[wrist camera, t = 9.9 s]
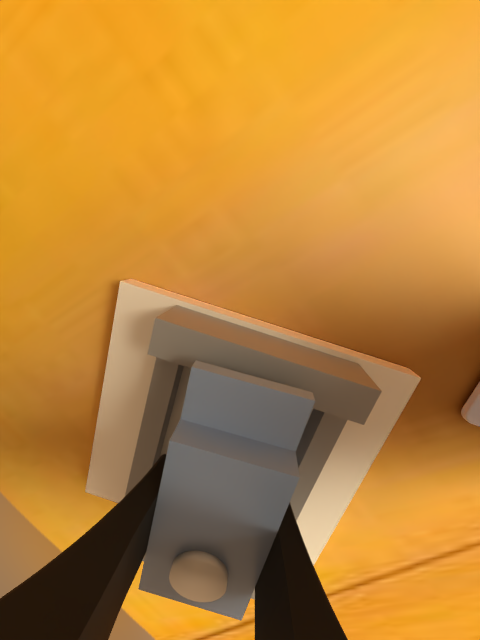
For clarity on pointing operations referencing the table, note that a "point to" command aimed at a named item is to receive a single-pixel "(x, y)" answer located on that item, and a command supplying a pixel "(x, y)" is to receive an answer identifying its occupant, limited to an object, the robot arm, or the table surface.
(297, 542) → the robot arm
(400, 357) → the table surface
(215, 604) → the servo
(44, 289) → the table surface
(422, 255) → the table surface
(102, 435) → the cradle
